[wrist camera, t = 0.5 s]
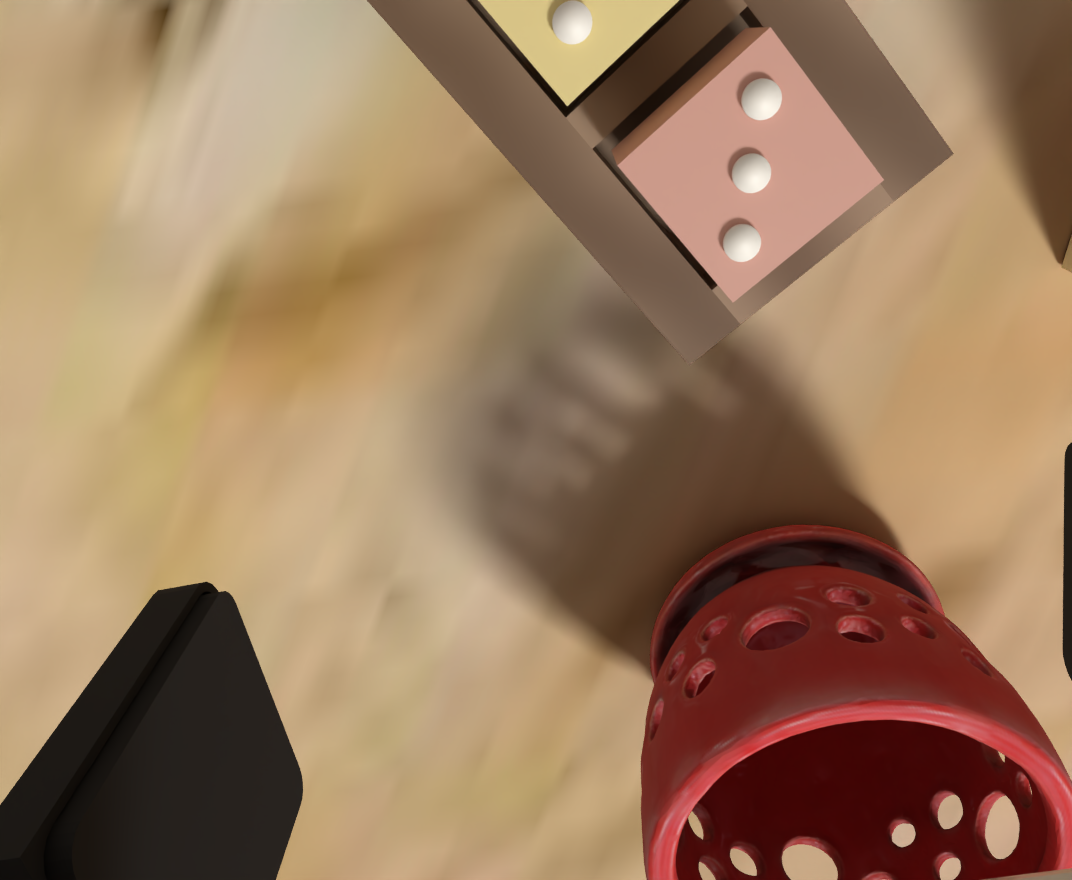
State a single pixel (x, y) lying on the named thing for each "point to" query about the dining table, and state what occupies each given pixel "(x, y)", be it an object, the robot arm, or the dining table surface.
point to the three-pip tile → (746, 161)
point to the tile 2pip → (574, 35)
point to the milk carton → (1068, 257)
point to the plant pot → (834, 721)
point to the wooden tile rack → (634, 94)
